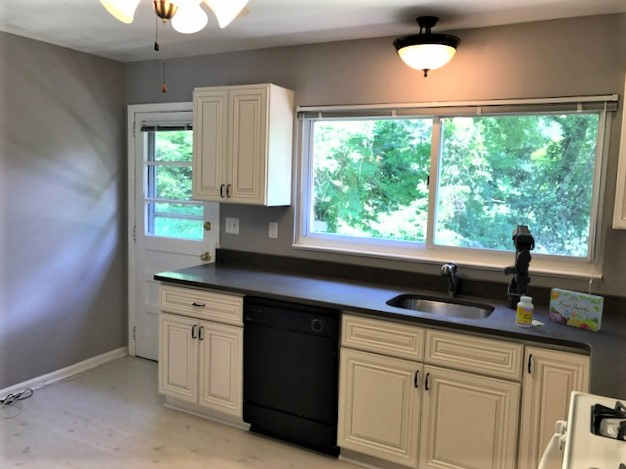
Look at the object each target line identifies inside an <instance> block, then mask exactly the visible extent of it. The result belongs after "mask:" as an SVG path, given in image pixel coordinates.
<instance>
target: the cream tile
mask: <svg viewBox="0 0 626 469" xmlns="http://www.w3.org/2000/svg"><path fill="white" fill-rule="evenodd" d="M532 325H533V327H537V325H541V326H546V325H545V323H543V322H540V321H538V320H535V319H534V320H533V319H532Z"/></svg>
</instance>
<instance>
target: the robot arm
mask: <svg viewBox="0 0 626 469" xmlns="http://www.w3.org/2000/svg"><path fill="white" fill-rule="evenodd" d="M511 241H512V245H513V247H514V249H515V257H514V258H515V260H514V264H513V265H509V266H504V267H502V272H503V275H504V276H509V275H512V278H511V280H510V282H509V283H508V289H507V296H508V301H507V305H506V307H507V308H509V309H512V310H517V306H518V303H519V302H521V297H522V296H526V297H528V291H529V288H528V286H529V284H530V283H531V282H532V278H531V277H530V276H529V269H530V268H529V267H530V263H531V261H532V260H533V259H532V255H531V251H534V249H536V239H535V238H534V237H533V235H532V234H531V230H530V229H529V226H528V225H525V224H524V225H523V224H521V225H520V224H519V225H517V227H515V228H514V229H513V230H512V234H511Z"/></svg>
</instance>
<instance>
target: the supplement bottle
mask: <svg viewBox="0 0 626 469" xmlns="http://www.w3.org/2000/svg"><path fill="white" fill-rule="evenodd" d="M532 300H533V298H532V297H530V296H527V297H526V296H522V297H521V302H519V303H518V306H517V309H516V315H515V316H516V318H515V325H516V326H517V327H520V328H525V329H526V328H531V327H532V320H533V318H534V317H533V316H534V308H535V307H534V304H533V303H532Z"/></svg>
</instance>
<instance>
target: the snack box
mask: <svg viewBox="0 0 626 469" xmlns="http://www.w3.org/2000/svg"><path fill="white" fill-rule="evenodd" d="M603 308H604V297H603V296H598V295H593V294H588V293H583V292H578V291H573V290H568V289H563V288H558V287H554V288H551V292H550V301H549V310H548V322H549V321H550V322H554V321H555V322H556V323H558V322H559V324H562V323H563V324H562V325H566V324H567V326H570V325H572V327H574V326H576V327H575V328H579V327H580V328H579V329H583V328H584V329H583V330H587V329H588V331H591V330H592V331H591V332H596V333H597V332H598V331H600V330H601V325H602V324H601V323H602V315H603Z"/></svg>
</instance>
